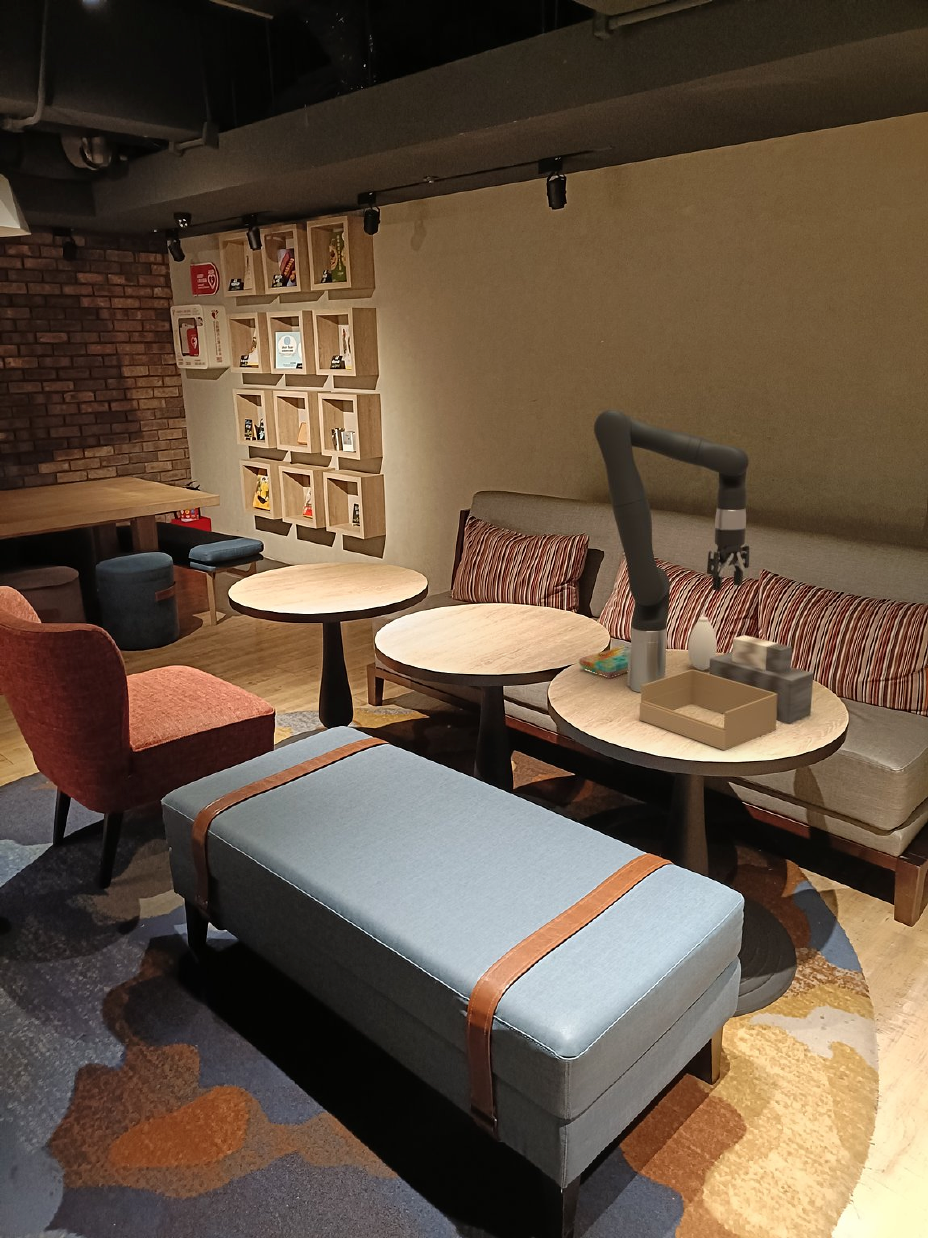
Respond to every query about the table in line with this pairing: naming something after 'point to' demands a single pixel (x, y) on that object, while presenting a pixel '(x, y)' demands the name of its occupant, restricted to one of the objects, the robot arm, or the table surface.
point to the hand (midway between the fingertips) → (727, 587)
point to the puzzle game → (607, 661)
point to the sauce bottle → (702, 644)
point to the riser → (771, 685)
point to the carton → (740, 703)
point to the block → (762, 654)
